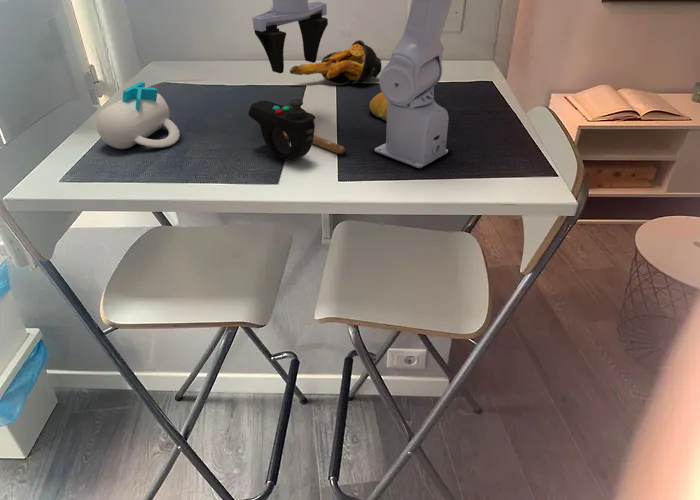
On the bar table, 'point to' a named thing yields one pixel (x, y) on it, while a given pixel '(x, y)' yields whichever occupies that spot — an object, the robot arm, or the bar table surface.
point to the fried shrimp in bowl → (345, 65)
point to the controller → (285, 127)
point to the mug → (136, 119)
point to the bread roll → (379, 106)
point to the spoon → (325, 144)
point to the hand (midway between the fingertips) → (294, 66)
